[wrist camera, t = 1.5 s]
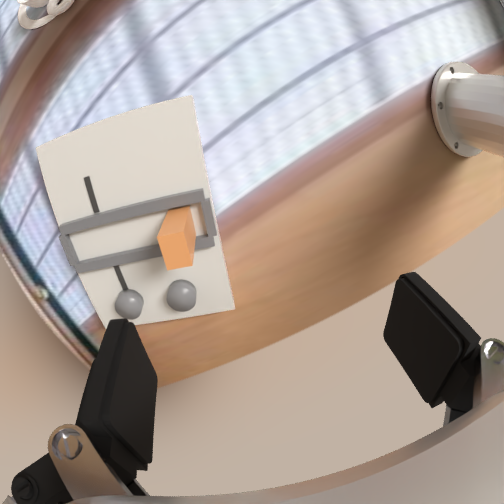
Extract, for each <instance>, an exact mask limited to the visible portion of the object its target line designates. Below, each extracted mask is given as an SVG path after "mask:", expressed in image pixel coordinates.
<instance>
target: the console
mask: <svg viewBox="0 0 504 504" xmlns="http://www.w3.org/2000/svg"><path fill="white" fill-rule="evenodd" d="M36 151H37V155H38V159H39V163H40V167H41V171H42V175H43V179H44V182H45V186H46V189H47V192H48V196H49V199H50V202H51V205H52V208H53V211H54V214H55V217H56V220H57V223H58V226H59V230H60V232H61V235H60V236H59V238H60V241H61V243H62V246H63V248H64V251H65V253H66V256H67V258H68V260H69V263H70V265H71V266H73V265H74V267H75V269H76V272H77V274H78V275H79V277H80V279H81V281H82V284H83V286H84V288H85V290H86V292H87V294H88V296H89V298H90V300H91V302H92V304H93V306H94V308H95V310H96V312H97V314H98V316H99V318H100V319H101V321H102V323H103V325H104V327H105V329H107V326H108V323H109V321H110V320H111V319H122V318H126V319H127V320H128V321H129V322H133V323H134V325H140V324H147V323H154V322H161V321H168V320H174V319H181V318H187V317H193V316H199V315H205V314H211V313H217V312H222V311H228V310H233V309H235V304H234V297H233V293H232V288H231V284H230V280H229V275H228V270H227V266H226V261H225V257H224V252H223V247H222V243H221V238H220V233H219V228H218V224H217V219H216V214H215V209H214V204H213V199H212V194H211V189H210V184H209V179H208V174H207V169H206V164H205V158H204V153H203V148H202V142H201V137H200V131H199V126H198V120H197V115H196V109H195V103H194V97H193V96H192V95H190V96H185V97H180V98H176V99H172V100H168V101H164V102H160V103H156V104H152V105H148V106H145V107H141V108H138V109H134V110H131V111H128V112H125V113H121V114H118V115H115V116H112V117H109V118H106V119H104V120H101V121H98V122H95V123H93V124H90V125H87V126H85V127H82V128H80V129H77V130H75V131H72V132H70V133H67V134H65V135H63V136H60V137H58V138H56V139H53V140H51V141H49V142H47V143H45V144H43V145H41V146H38V147H36ZM189 205H190V209H191V213H192V218H193V222H194V226H195V230H196V240H195V249H194V259H193V266H188V267H183V268H178V269H172V270H167V268H166V265H165V262H164V258H163V255H162V252H161V249H160V246H159V242H158V239H157V236H158V233H159V231H160V228H161V226H162V223H163V221H164V219H165V216H166V214H167V212H168V210H170V209H175V208H179V207H184V206H189Z"/></svg>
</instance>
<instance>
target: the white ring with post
mask: <svg viewBox="0 0 504 504" xmlns="http://www.w3.org/2000/svg"><path fill="white" fill-rule="evenodd" d="M17 1H18V3H20V7H19V11H18V21H19V23H20V25H21V26H22V27H23V28H25V29H35V28H38V27H41V26H43V25H45V24H47V23H48V22H50V21H51V20H52V19H54V18H55V17H56V16H57V15H59V14H61V13H63V12H65V11H66V10H67V9H68V8H69V7H70V6H71V5H72V4H73V2H74V0H62V1H61V3H60V4H59V5H57V4H58V2H59V1H60V0H17ZM46 4H47V12H48V15H47V16H45V17H43V18H41V19H38V20H31V19H29V18H28V17H27V15H26V7H27V6H30V7H35V8H39V7H43V6H45V5H46Z"/></svg>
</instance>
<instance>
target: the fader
mask: <svg viewBox="0 0 504 504" xmlns="http://www.w3.org/2000/svg"><path fill="white" fill-rule="evenodd" d="M157 239H158V242H159V246H160V249H161V252H162V255H163V258H164V262H165V265H166V268H167V270H172V269H178V268H183V267H188V266H193V259H194V249H195V240H196V230H195V226H194V222H193V218H192V213H191V209H190V205H189V206H184V207H179V208H175V209H170V210H168V212H167V214H166V216H165V219H164V221H163V223H162V226H161V228H160V231H159V233H158V236H157Z"/></svg>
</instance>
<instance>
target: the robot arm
mask: <svg viewBox="0 0 504 504" xmlns="http://www.w3.org/2000/svg"><path fill="white" fill-rule="evenodd" d="M431 108H432V114H433V119H434V122H435V126H436V128H437V131H438V133H439V135H440V137H441V139H442V141H443V142H444V143H445V145H446V146H447V147H448V148H449V149H450V150H451V151H452V152H454V153H456V154H458V155H461V156H464V157H473V156H476V155H477V154H479V153H480V152H481V151H482V150H484V151H487V152H490V153H493V154H496V155H499V156H501V157H504V76H501V75H488V74H479V73H478V72H477V71H476V70H475V69H474V68H472V67H471V66H470V65H468V64H466V63H463V62H449V63H446V64H445V65H443V66H442V67H441V68H440V69H439V71H438V72H437V74H436V76H435V78H434V81H433V85H432V92H431ZM480 339H481V337H480V336H479V335H478V334H477V333H476V332H475V331H474V330H473V329H472V327H471V326H470V325H469V324H468V323H467V322H466V321H465V320H464V319H463V318H462V317H461V316H460V315H459V314H458V313H457V312H456V311H455V310H454V309H453V308H452V307H451V306H450V305H449V304H448V303H447V302H446V301H445V300H444V299H443V298H442V297H441V296H440V295H439V294H438V293H437V292H436V291H435V290H434V289H433V288H432V287H431V286H430V285H429V284H428V283H427V282H426V281H425V280H423V279H422V278H421V277H420V276H419V275H418V274H417V273H416V272H410V273H406V274H402V275H400V277H399V279H398V280H397V281H396V284H395V288H394V293H393V298H392V301H391V306H390V310H389V314H388V318H387V322H386V325H385V329H384V340H385V342H386V343H387V345H388V346H389V348H390V349H391V351H392V352H393V354H394V355H395V356H396V358H397V360H398V361H399V362H400V364H401V366H402V367H403V369H404V370H405V372H406V373H407V375H408V376H409V378H410V379H411V381H412V383H413V384H414V386H415V387H416V389H417V390H418V392H419V394H420V395H421V397H422V398H423V400H424V401H425V402H426V403H429V405H430V406H431V408H434V407H435V406H437V405H439V404H441V403H442V402H443V401H445V403H446V412H445V418H444V424H443V427H442V428H440V429H438V430H436V431H434V432H433V433H431V434H429V435H427V436H425V437H423V438H421V439H419V440H417V441H415V442H413V443H411V444H409V445H407V446H405V447H402V448H400V449H398V450H396V451H393V452H391V453H389V454H386V455H384V456H381V457H379V458H376V459H374V460H372V461H369V462H366V463H363V464H361V465H358V466H355V467H352V468H349V469H346V470H343V471H340V472H336V473H333V474H330V475H326V476H323V477H319V478H316V479H311V480H307V481H303V482H299V483H295V484H290V485H285V486H281V487H275V488H270V489H263V490H257V491H250V492H242V493H233V494H222V495H206V496H185V497H184V496H180V497H164V496H150V495H149V494H148V493H147V492H146V491H145V489H144V488H143V487H142V486H141V485H140V484H139V483H138V481H137V480H136V479H135V478H136V475H137V470H145V471H147V467H148V463H151V462H152V453H153V452H152V451H153V433H154V432H153V431H154V417H155V402H156V392H157V375H156V372H155V370H154V368H153V366H152V364H151V362H150V359H149V357H148V355H147V353H146V351H145V348H144V346H143V344H142V342H141V339H140V337H139V335H138V332H137V330H136V328H135V325H134V323H133V322H129V321H128V320H127V319H126V318H122V319H111V320H110V321H109V323H108V326H107V329H106V332H105V334H104V337H103V340H102V343H101V346H100V349H99V352H98V355H97V358H96V359H95V360H94V361H93V363H92V366H91V369H90V373H89V376H88V379H87V383H86V387H85V390H84V393H83V397H82V400H81V404H80V408H79V412H78V416H77V420H76V424H75V425H73V424H64V425H62V426H59V427H58V428H56V429H55V430H54V431H53V432H52V434H51V436H50V437H49V441H48V451H49V453H47V454H46V455H44V456H43V457H42V458H40V459H39V460H37V461H36V462H35V463H33V464H31V465H30V466H28V467H27V468H25V469H24V470H23V471H21V472H20V473H18V474H17V475H16V476H15V477H14V479H13V481H12V487H11V490H12V495H13V496H12V497H10V496H7V498H6V499H5V501H4V502H3V504H504V343H503V342H502V341H500V340H497V339H492V338H490V339H487V340H485V341H484V342H483V343H482V345H481V346H480V345H479V341H480Z"/></svg>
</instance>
